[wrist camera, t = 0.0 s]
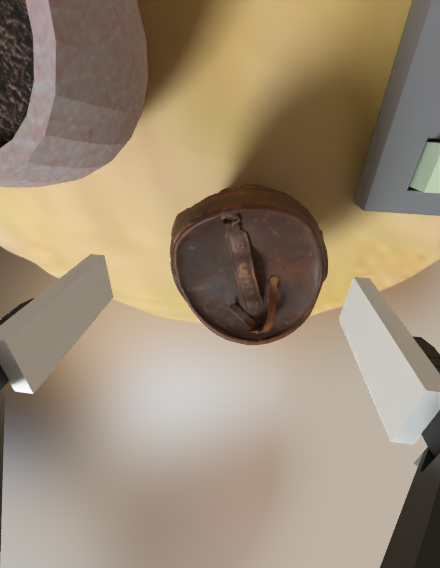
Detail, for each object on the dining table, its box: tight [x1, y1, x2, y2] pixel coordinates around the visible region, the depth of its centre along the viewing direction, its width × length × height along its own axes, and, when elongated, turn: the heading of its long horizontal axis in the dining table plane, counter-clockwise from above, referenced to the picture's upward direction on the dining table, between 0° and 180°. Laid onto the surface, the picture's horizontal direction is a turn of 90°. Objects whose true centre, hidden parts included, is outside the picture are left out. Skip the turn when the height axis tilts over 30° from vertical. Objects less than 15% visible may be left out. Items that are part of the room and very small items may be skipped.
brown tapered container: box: [170, 185, 328, 345], centre depth 34 cm, size 18×20×18 cm
